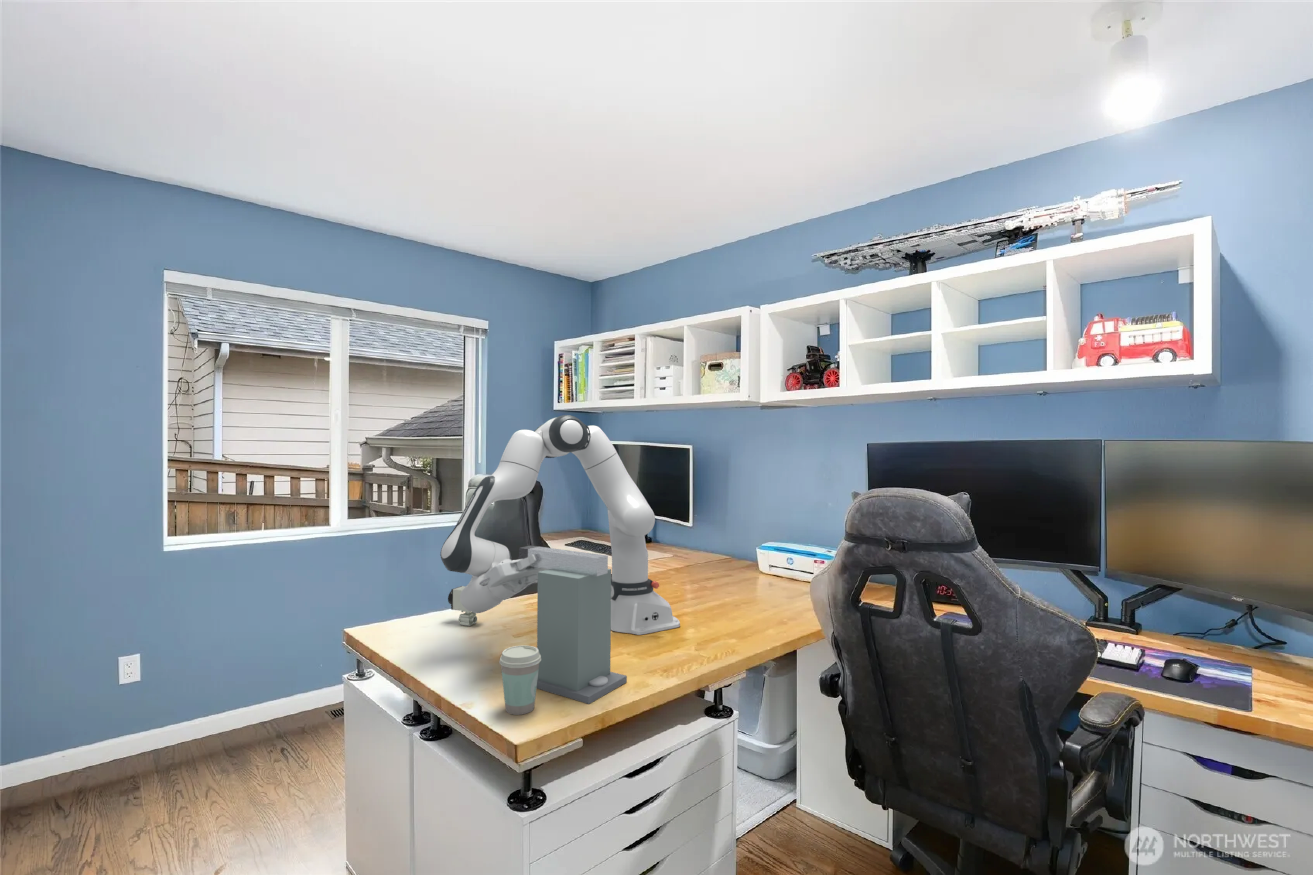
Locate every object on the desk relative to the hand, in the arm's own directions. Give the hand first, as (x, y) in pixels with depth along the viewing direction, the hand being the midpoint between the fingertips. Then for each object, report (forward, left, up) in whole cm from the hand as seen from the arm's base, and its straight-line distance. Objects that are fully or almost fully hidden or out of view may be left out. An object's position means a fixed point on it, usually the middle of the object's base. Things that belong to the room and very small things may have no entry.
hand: (543, 555), depth 145 cm
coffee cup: (+8, +17, -29) cm, 34 cm away
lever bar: (-3, +5, -2) cm, 6 cm away
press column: (-7, +10, -28) cm, 31 cm away
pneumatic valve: (+12, -48, -29) cm, 57 cm away
